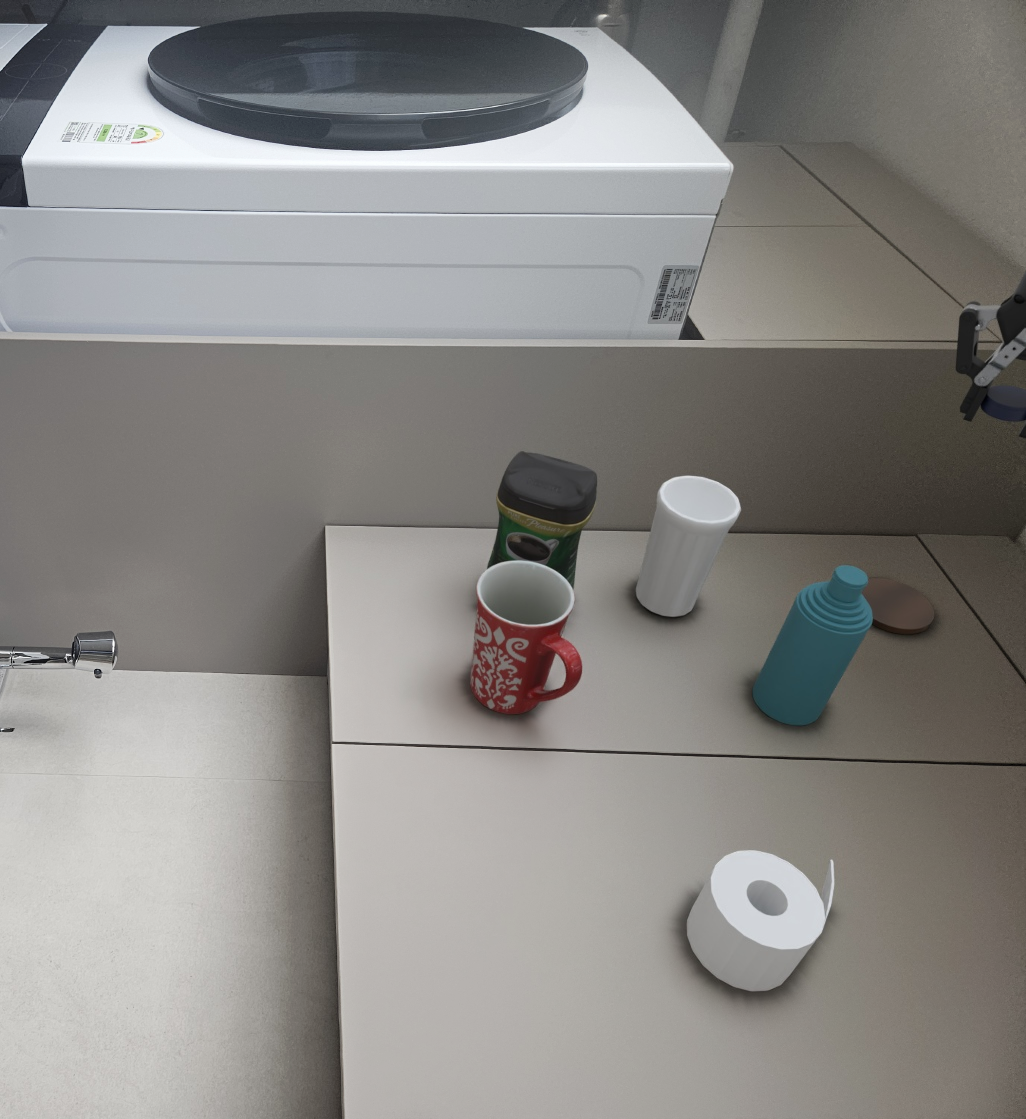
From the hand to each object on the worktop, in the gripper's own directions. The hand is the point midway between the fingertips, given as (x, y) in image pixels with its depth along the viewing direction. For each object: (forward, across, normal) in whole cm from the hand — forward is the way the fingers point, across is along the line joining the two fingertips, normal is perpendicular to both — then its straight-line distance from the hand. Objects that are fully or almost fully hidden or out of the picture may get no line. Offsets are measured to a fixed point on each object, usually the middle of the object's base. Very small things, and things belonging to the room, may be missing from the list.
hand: (996, 424), depth 90 cm
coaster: (+24, 0, 0) cm, 24 cm away
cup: (+25, +20, +13) cm, 34 cm away
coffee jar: (+25, +32, +23) cm, 47 cm away
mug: (+25, +26, +36) cm, 51 cm away
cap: (-3, 0, 0) cm, 3 cm away
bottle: (+24, +5, +20) cm, 32 cm away
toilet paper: (+25, -2, +46) cm, 53 cm away
